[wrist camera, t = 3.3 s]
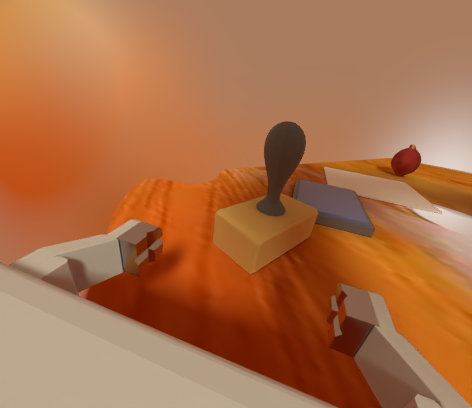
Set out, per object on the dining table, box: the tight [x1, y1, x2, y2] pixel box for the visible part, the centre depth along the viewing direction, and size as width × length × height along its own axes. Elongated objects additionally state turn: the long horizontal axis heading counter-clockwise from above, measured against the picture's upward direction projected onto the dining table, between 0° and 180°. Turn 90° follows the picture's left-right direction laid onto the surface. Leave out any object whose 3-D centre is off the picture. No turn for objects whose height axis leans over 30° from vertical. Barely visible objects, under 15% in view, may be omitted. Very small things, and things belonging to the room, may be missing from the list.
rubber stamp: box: [213, 122, 318, 274], centre depth 20 cm, size 10×6×12 cm, turn 133°
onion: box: [391, 145, 421, 176], centre depth 53 cm, size 6×6×8 cm
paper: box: [324, 167, 442, 214], centre depth 44 cm, size 18×16×1 cm
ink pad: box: [292, 179, 375, 237], centre depth 32 cm, size 10×13×2 cm
